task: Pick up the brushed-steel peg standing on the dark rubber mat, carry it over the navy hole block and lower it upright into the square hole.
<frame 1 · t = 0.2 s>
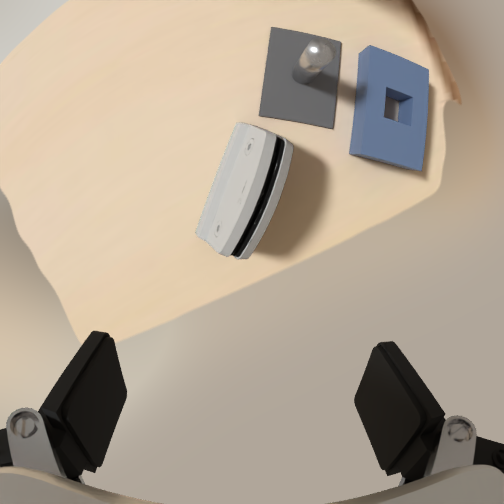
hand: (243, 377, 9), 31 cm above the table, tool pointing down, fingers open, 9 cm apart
peg: (302, 74, 32), resting on mat
hole block: (385, 110, 34), on the table
mat: (302, 75, 33), on the table
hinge: (242, 187, 38), on the table
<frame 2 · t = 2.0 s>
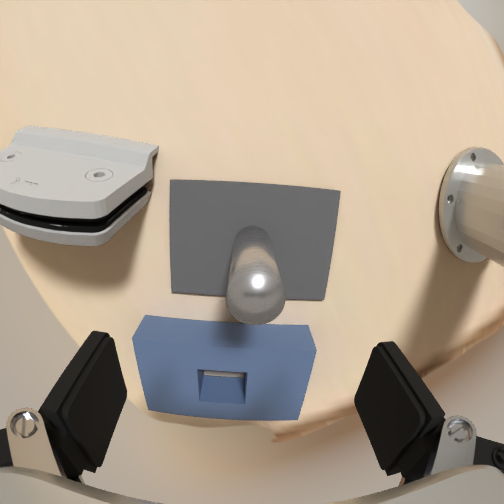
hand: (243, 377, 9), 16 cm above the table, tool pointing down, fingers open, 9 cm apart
peg: (252, 243, 24), resting on mat
hole block: (224, 361, 28), on the table
mat: (252, 242, 24), on the table
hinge: (76, 172, 22), on the table
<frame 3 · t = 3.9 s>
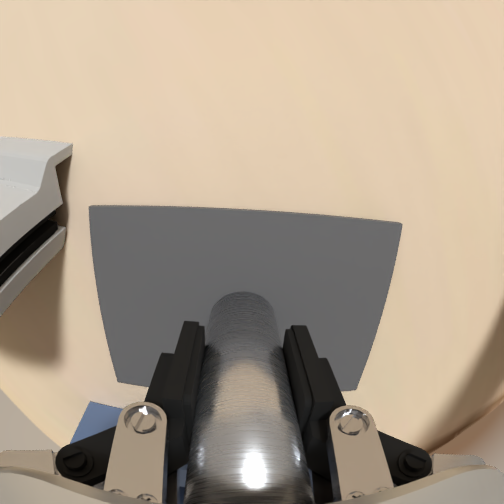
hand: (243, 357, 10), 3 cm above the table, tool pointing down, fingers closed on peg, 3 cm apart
peg: (242, 320, 13), resting on mat, touching gripper
hole block: (207, 456, 17), on the table
mat: (241, 317, 13), on the table
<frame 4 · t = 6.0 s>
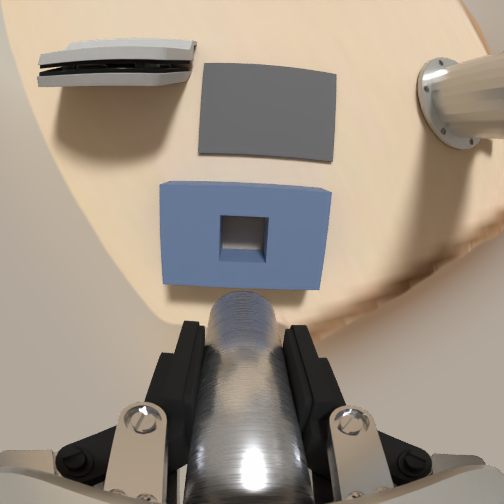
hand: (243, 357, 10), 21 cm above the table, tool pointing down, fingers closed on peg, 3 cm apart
peg: (242, 320, 13), point 19 cm above the table, touching gripper
hole block: (243, 229, 31), on the table
mat: (269, 109, 27), on the table
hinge: (123, 68, 25), on the table
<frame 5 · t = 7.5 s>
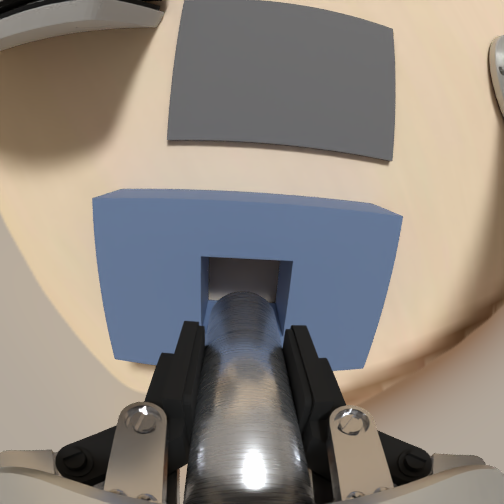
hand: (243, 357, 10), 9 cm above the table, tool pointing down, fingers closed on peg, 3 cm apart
peg: (242, 320, 13), point 6 cm above the table, touching gripper
hole block: (243, 270, 18), on the table
mat: (290, 68, 14), on the table
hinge: (68, 24, 12), on the table
when the fingers open (5 cm above the table, at t = 8.4 s): peg drops 2 cm, resting in hole block.
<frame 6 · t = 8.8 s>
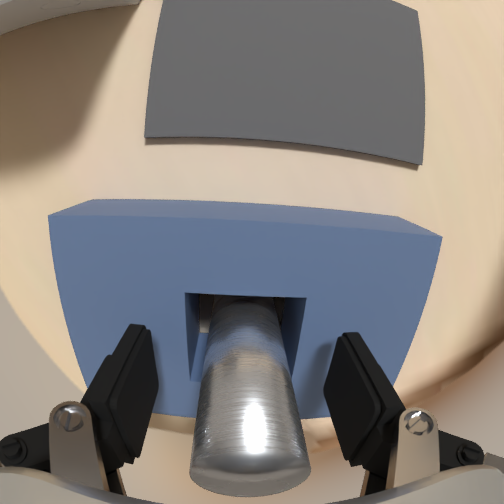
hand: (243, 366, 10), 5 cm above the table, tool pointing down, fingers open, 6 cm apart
peg: (243, 298, 15), resting in hole block
hole block: (241, 299, 15), on the table
mat: (300, 48, 11), on the table
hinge: (41, 11, 9), on the table
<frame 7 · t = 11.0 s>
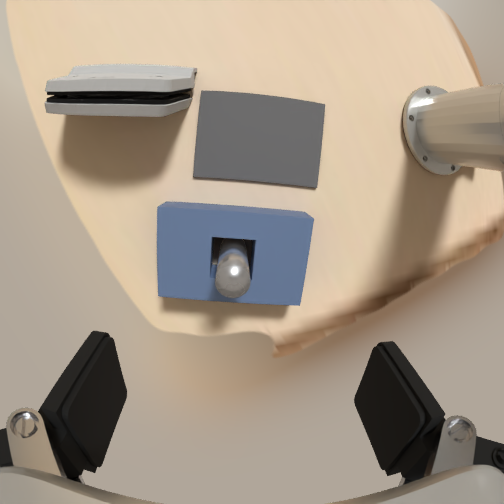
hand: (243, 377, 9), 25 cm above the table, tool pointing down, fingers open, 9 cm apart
peg: (233, 247, 34), resting in hole block
hole block: (232, 248, 34), on the table
mat: (260, 137, 30), on the table
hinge: (126, 93, 27), on the table
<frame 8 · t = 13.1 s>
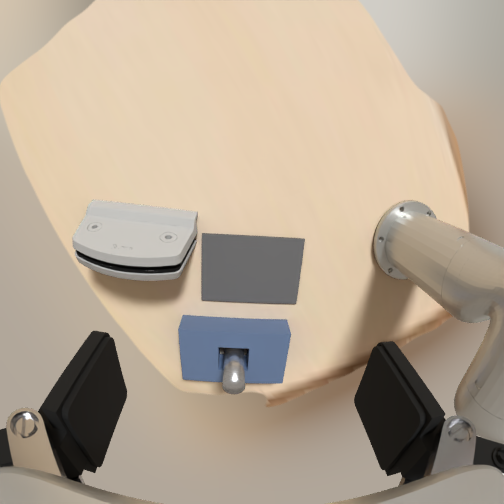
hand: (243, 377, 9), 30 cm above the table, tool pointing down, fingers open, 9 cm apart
peg: (234, 343, 44), resting in hole block
hole block: (233, 344, 44), on the table
mat: (251, 270, 41), on the table
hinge: (140, 231, 39), on the table
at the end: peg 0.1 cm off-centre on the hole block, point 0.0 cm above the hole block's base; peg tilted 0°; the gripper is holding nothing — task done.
